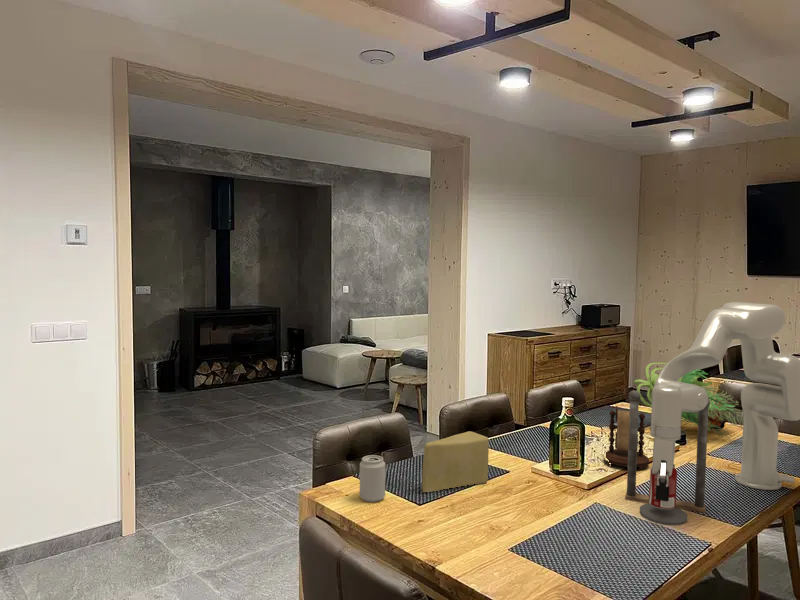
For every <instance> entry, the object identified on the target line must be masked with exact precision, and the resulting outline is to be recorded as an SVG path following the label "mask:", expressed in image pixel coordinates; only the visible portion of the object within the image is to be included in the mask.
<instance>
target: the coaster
mask: <svg viewBox="0 0 800 600" xmlns="http://www.w3.org/2000/svg"><path fill="white" fill-rule="evenodd" d="M639 514H640V516H641V517H642V518H644V519H645V520H648V521H649V522H653V523H656V524H661V525H667V526H677V525H678V526H679V525H684V524H685V523H687V521H688V513H687V512H685V510H684V509H679V508H677V507H675V508H674V509H671V510H659V509H656V508H654V507H653V506H651V505H650V504H649V503H644V504H642V505H640V507H639Z"/></svg>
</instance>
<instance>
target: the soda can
mask: <svg viewBox="0 0 800 600" xmlns="http://www.w3.org/2000/svg"><path fill="white" fill-rule="evenodd" d="M666 465H667V461H666ZM667 471H668V470H667ZM660 473H661V471H660V469H659V474H660ZM657 474H658V472H657ZM657 474H653V473H652V465H651V466H650V468H649V487H648V488H649V489H648V491H649V492H648V495H649V504H650V505H651V506H653V507H654V508H656V509H659V510H671V509H674V508H675V507H676V500H677V486H678V485H677V484H678V483H677V481H678V471H677V469H676V465H675V463H674V464H673V470H672V475H671V476H670V477H669V481H668V486H669V501H668V502H667V501H661V500H656V484H657V477H658V475H657ZM666 475H667V472H666ZM666 478H667V477H665V479H666Z"/></svg>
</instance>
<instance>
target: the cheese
mask: <svg viewBox="0 0 800 600" xmlns="http://www.w3.org/2000/svg"><path fill="white" fill-rule="evenodd" d="M489 442H490V441H489V437H487V436H485V435H482V434H480V433H477V432H474V431H470V430H469V431H466V432H463V433H462V432H461V433H457V434H454V435H451V436H449V437H448V436H447V437H445V438H444V437H443V438H441V439H437V440H432V441H429V442H427V443H425V444H424V450H423V451H424V452H423V461H422V470H421V471H422V473H421V475H422V478H421V479H422V482H421V483H422V488H421V489H422V490H421V491H422V493H424V492H431V491H438V490H443V489H448V490H450V489H449V488H453V489H456V488H455V487H458V488H462V487H461V486H464V487H468V486H467V485H469V486H475V485H481V483H482V484H487V483H488V478H489V477H488V475H489V473H488V472H489V449H490V448H489ZM474 484H475V485H474ZM443 491H444V490H443ZM438 492H439V491H438Z"/></svg>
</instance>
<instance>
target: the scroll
mask: <svg viewBox="0 0 800 600" xmlns="http://www.w3.org/2000/svg"><path fill="white" fill-rule="evenodd" d="M629 413H630V410H629V411H628V410H620V409H619V410H618V405H616V406H615V411H614V410H610V411H609V415H610V416H609V418H610V420H609V425H608V428H609V431H610V432H609V437H608V441H609V443H608V444H609V447H608V450H606V451H607V452H606V451H605V452H606V458H607V459H608V460H609V462H608V464H609V463H612V465H616V466H620V467H626V468H628V443H629ZM644 414H645V413H639V414H638V419H639V421H640V422H639V423H638V433H639V434H638V437H637V466H636V468H638V470H639V471H641V470H642V469H643V467H646V466H648V465H649V463H650V458H649V457H648V456H646V455H645V454H644V453H645V452H644V445H645V441H644V438H645V437H644V435H645V431H646V430H645V421H646V414H645V415H644ZM615 422H616V425H615ZM615 430H616V432H614V431H615Z"/></svg>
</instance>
